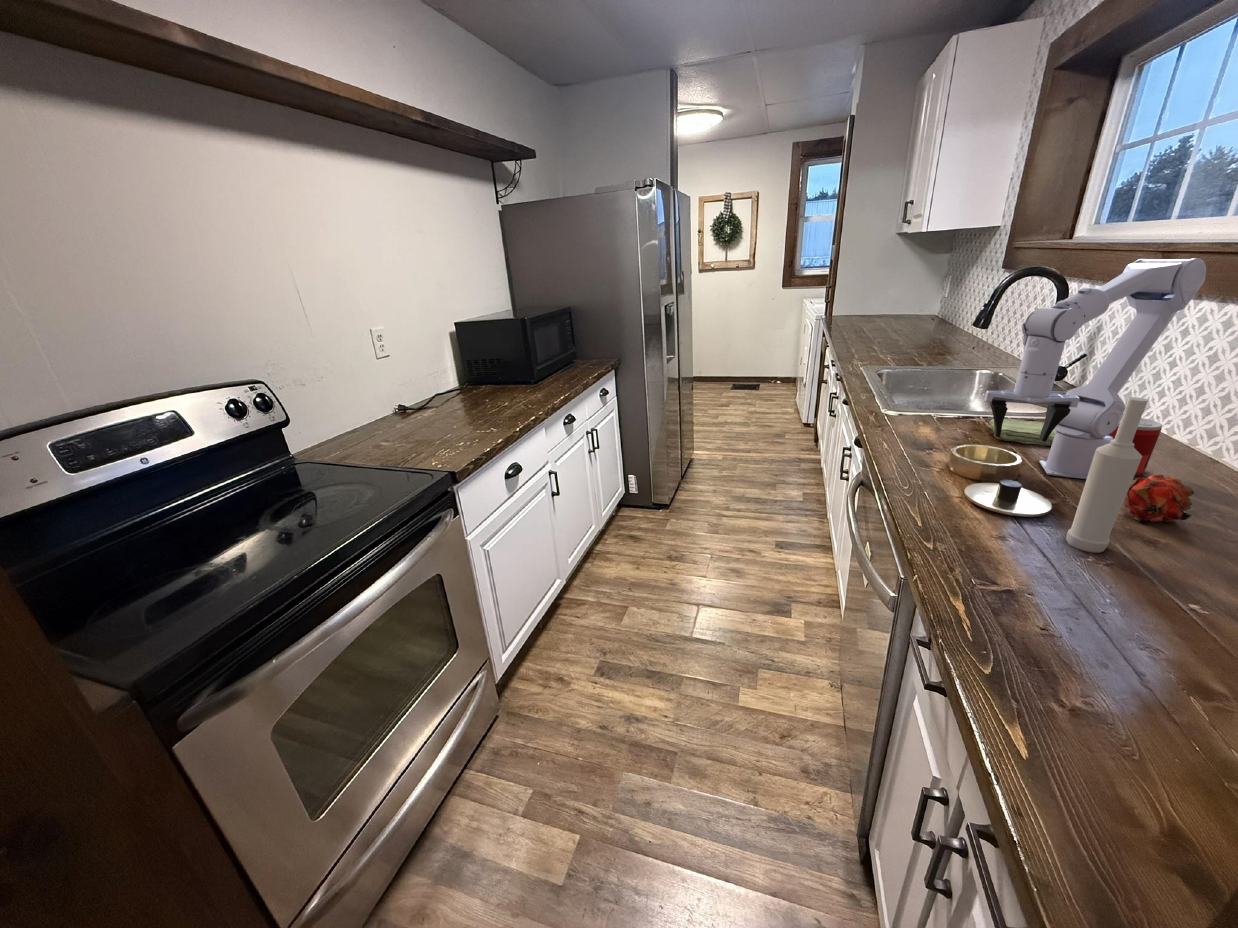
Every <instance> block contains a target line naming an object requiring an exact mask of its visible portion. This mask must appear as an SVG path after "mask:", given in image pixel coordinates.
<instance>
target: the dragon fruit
mask: <svg viewBox="0 0 1238 928" xmlns="http://www.w3.org/2000/svg"><path fill="white" fill-rule="evenodd" d="M1194 494H1195V491H1194V490H1193V488H1192V487H1190V486H1187V485H1185V484H1184V483H1183V482H1182V480H1180V479H1179V478H1177V477H1174V476H1165V475H1163V474H1158V473H1155V474H1152V475H1149V476H1148V477H1147V478H1146V477H1138V478H1135V479H1133V480H1132V483H1131V485H1130V487H1129V490H1128V492H1127V495H1126V497H1125V499H1124V506H1125V508H1126V509H1129V513H1130V514H1131V515H1132V516H1131V517H1132V518H1133V519H1134V520H1135V521H1138V522H1140V523H1142V521H1143V522H1147V521H1150V522H1156V523H1161V522H1163V523H1169V522H1172V521H1175V520H1178V521H1186V520H1188V519H1189V518H1192V517H1193V515H1192V514H1191V513H1188V512H1187V511H1189V510H1190V509H1192V507H1191V506H1193V504H1194V503H1193V502H1192V500H1191V498H1190V497H1192V495H1194Z"/></svg>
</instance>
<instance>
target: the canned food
mask: <svg viewBox="0 0 1238 928" xmlns="http://www.w3.org/2000/svg"><path fill="white" fill-rule="evenodd" d="M1122 417H1123V416H1121V418H1120V422H1121V420H1122ZM1120 422H1119V424H1118V426H1117V427H1116V429H1115V430H1114V431H1113V432H1112V433H1110V434H1109V435H1107V436H1111V437H1113V439H1115V436H1116V433H1117V431H1118V428H1119V425H1120ZM1162 428H1163V424H1162V423H1160V422H1158V421H1155V420H1153V419H1148V418H1142V417H1141V419H1140V422H1139V425H1138V427H1137V430H1136V433H1135V436H1134V438H1133V441H1132V442H1133V443H1134V444H1135V445H1134V448H1135V449H1136V450H1137V451H1138V452H1139V453H1140V454H1141V455H1142V459H1141V461H1140V463H1139V466H1138V468H1137V471H1136V473H1135V475H1134V477H1136V476H1137V477H1138V476H1141V475H1142V474H1144V473H1145V472H1146V468H1147V467H1148V464H1149V461H1150V459H1151V457H1152V455H1153V452H1154V449H1155V447H1156V444H1157V442H1158V440H1159V437H1160V435H1161V432H1162Z"/></svg>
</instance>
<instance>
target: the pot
mask: <svg viewBox="0 0 1238 928" xmlns="http://www.w3.org/2000/svg"><path fill="white" fill-rule="evenodd" d="M1022 463H1023V459H1022V457H1021V456H1020V455H1018V454H1017V453H1015V452H1013V451H1011V450H1007V449H1005V448H1001V447H996V446H992V445H986V444H985V445H984V444H961V445H955V446H953V448H951V450H950V455H949V459H948V469H949V471H951V472H952V473H954V474H955V475H958V476H961V477H963V478H966V479H970V480H973V481H978V482H982V483H1000V481H1001V480H1012V481H1016V479H1017V478H1018V476H1019V473H1020V470H1021V467H1022Z"/></svg>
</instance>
